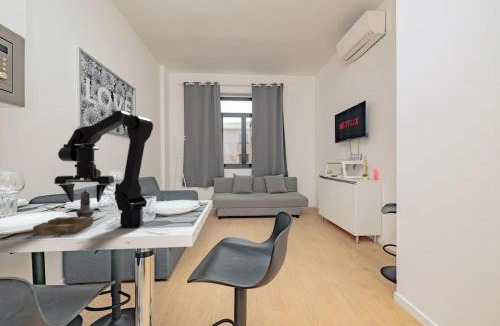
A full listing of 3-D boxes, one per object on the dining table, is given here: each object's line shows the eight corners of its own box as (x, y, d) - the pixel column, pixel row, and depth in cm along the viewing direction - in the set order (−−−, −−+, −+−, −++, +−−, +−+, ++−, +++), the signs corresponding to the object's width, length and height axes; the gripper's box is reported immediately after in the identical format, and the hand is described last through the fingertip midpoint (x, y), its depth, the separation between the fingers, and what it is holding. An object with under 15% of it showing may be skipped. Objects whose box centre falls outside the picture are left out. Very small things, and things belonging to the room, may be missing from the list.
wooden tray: (92, 223, 91) (92, 216, 91) (75, 233, 79) (75, 225, 79) (56, 224, 89) (57, 217, 89) (33, 234, 77) (33, 226, 77)
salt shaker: (84, 222, 91) (85, 190, 91) (71, 221, 93) (72, 190, 92) (97, 219, 97) (97, 189, 97) (85, 218, 98) (85, 188, 98)
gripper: (119, 161, 104) (118, 198, 104) (70, 161, 101) (70, 199, 101) (108, 162, 93) (108, 203, 93) (53, 161, 90) (53, 203, 90)
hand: (85, 202), depth 95 cm, fingers open, 9 cm apart
